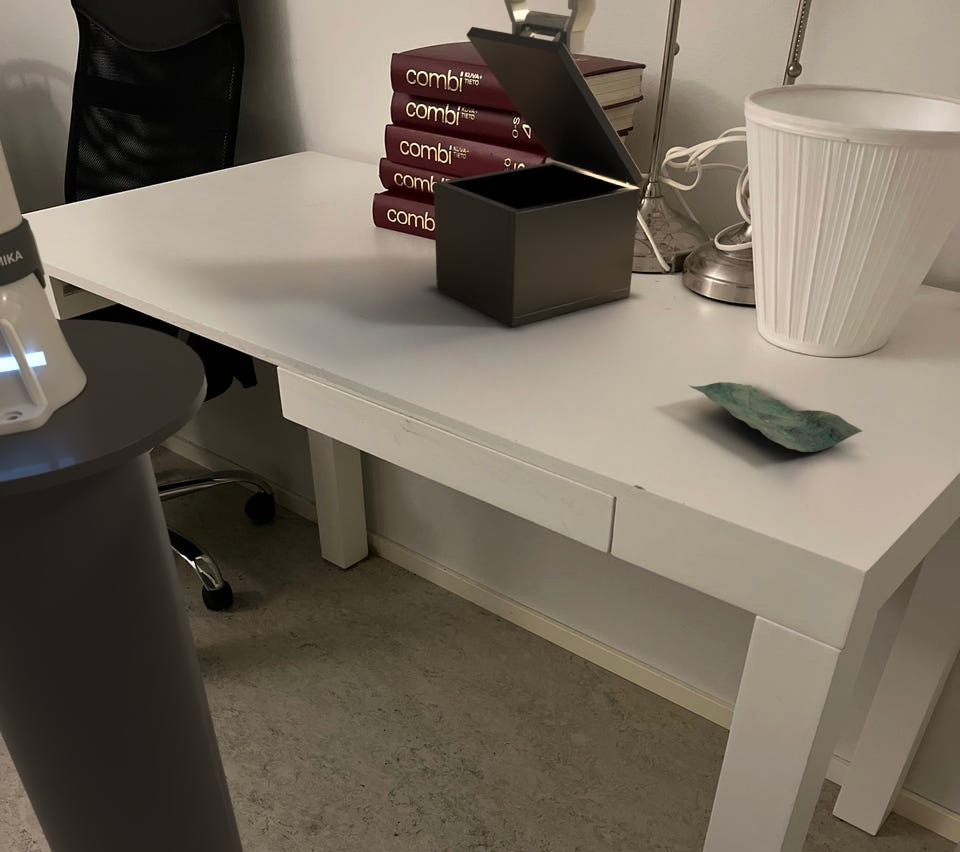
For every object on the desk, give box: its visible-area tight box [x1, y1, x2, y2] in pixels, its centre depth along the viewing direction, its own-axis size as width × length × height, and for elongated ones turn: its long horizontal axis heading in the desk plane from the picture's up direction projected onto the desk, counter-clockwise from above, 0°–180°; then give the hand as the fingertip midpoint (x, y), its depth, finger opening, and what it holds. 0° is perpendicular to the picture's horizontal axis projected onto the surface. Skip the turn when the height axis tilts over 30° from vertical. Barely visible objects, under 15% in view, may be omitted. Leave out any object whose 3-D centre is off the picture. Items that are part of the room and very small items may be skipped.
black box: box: [433, 161, 641, 328], centre depth 102 cm, size 16×14×11 cm
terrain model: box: [688, 381, 863, 453], centre depth 80 cm, size 13×8×2 cm, turn 29°
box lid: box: [465, 10, 644, 187], centre depth 96 cm, size 17×14×5 cm
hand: (547, 48), depth 92 cm, fingers closed on box lid, 6 cm apart
